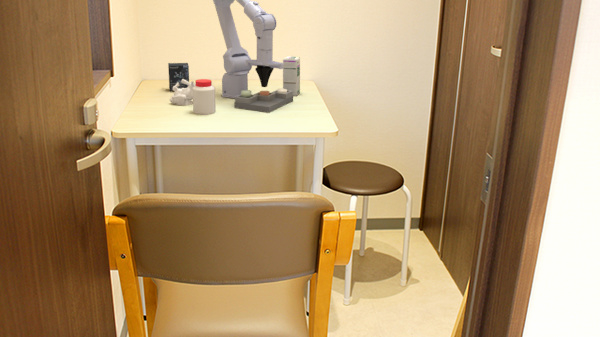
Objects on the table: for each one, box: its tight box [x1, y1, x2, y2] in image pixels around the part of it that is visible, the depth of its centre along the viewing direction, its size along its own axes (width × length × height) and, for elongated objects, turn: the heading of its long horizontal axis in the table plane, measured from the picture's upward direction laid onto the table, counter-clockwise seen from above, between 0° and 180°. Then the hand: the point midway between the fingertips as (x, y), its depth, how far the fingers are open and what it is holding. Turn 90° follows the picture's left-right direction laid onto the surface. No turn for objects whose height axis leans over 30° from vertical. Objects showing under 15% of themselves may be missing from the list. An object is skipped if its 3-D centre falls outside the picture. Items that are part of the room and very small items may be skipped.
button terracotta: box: [259, 90, 270, 96], centre depth 221 cm, size 4×4×2 cm
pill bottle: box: [192, 78, 217, 116], centre depth 208 cm, size 8×8×11 cm
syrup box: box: [282, 55, 301, 97], centre depth 236 cm, size 6×6×14 cm
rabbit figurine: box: [169, 79, 196, 106], centre depth 219 cm, size 12×8×10 cm, turn 102°
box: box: [167, 62, 190, 92], centre depth 239 cm, size 8×6×11 cm
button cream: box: [276, 88, 287, 93], centre depth 225 cm, size 4×4×2 cm
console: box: [233, 89, 294, 114], centre depth 222 cm, size 14×20×4 cm
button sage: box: [241, 90, 252, 98], centre depth 217 cm, size 4×4×2 cm
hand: (264, 86), depth 220 cm, fingers closed
